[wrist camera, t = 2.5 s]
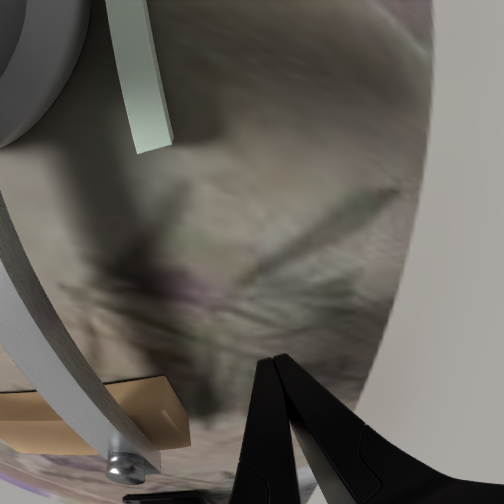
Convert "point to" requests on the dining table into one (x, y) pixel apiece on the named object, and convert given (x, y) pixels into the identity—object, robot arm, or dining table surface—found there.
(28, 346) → the lever
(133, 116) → the pale green u-shaped bracket
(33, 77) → the plug
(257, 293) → the dining table surface
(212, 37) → the dining table surface
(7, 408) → the latch rail
